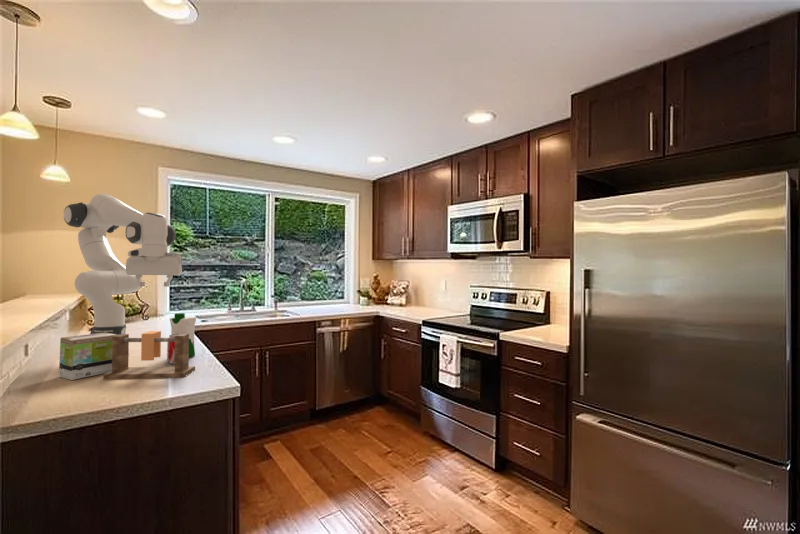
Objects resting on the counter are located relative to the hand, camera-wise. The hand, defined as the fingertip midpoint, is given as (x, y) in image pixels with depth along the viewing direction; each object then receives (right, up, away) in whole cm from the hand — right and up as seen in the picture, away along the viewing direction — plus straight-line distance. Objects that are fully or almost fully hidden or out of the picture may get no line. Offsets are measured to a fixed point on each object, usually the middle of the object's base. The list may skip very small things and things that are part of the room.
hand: (154, 286), depth 158 cm
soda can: (+5, -33, +8) cm, 35 cm away
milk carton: (+1, -33, +18) cm, 38 cm away
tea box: (-18, -33, -10) cm, 39 cm away
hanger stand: (+5, -33, -9) cm, 35 cm away
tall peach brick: (+5, -27, -9) cm, 29 cm away
